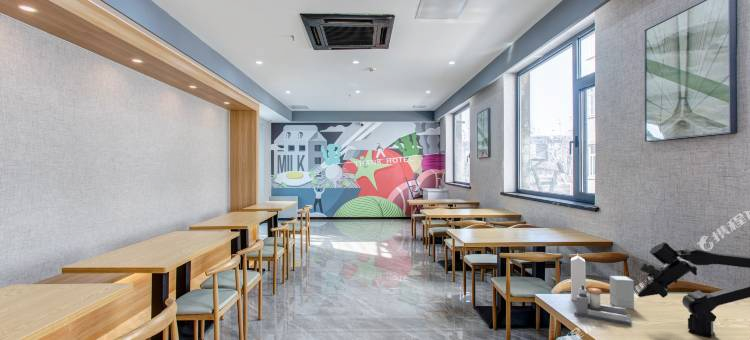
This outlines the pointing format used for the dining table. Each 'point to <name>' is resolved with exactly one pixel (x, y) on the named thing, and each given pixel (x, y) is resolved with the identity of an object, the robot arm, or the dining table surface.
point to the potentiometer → (582, 291)
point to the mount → (601, 312)
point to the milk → (577, 275)
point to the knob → (594, 299)
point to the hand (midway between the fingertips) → (638, 295)
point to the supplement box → (622, 291)
